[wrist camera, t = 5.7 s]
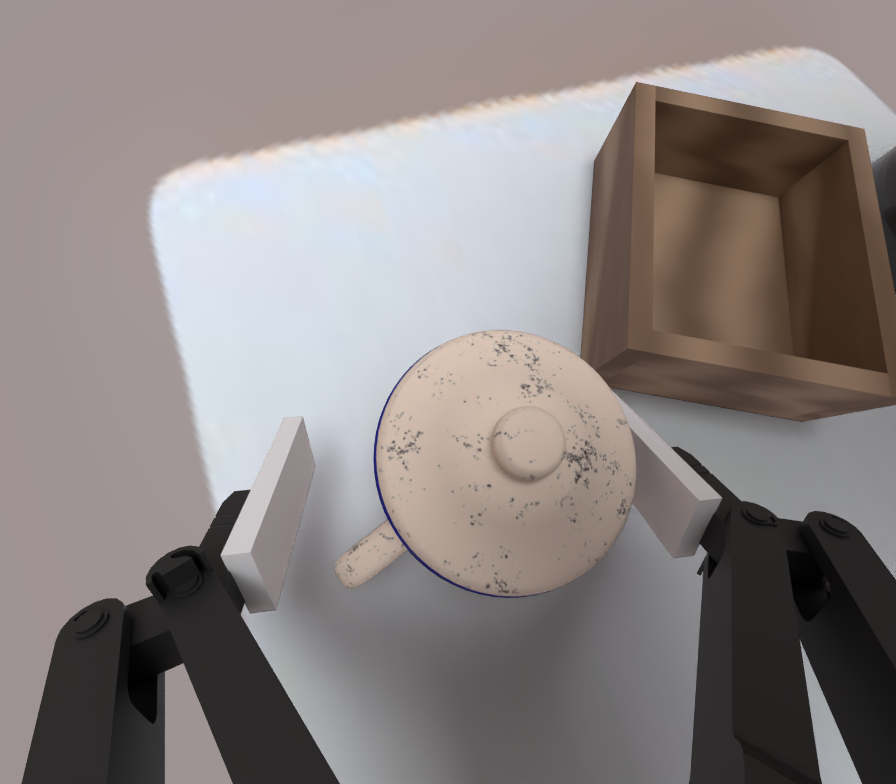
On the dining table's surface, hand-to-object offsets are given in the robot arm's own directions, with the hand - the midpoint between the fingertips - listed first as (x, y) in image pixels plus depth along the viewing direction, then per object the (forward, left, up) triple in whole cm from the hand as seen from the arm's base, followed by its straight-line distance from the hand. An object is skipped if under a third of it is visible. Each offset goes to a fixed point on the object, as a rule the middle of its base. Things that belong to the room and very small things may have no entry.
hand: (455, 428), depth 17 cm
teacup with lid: (-1, +2, -5) cm, 5 cm away
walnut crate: (-15, -14, -5) cm, 21 cm away
